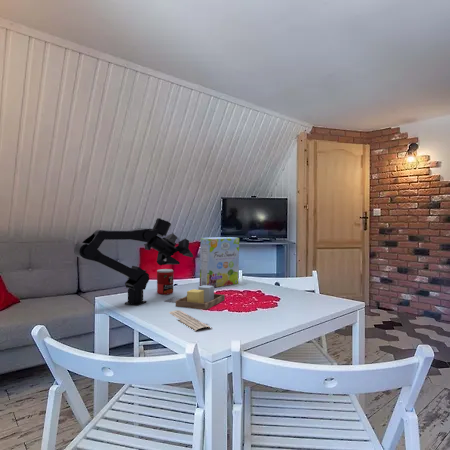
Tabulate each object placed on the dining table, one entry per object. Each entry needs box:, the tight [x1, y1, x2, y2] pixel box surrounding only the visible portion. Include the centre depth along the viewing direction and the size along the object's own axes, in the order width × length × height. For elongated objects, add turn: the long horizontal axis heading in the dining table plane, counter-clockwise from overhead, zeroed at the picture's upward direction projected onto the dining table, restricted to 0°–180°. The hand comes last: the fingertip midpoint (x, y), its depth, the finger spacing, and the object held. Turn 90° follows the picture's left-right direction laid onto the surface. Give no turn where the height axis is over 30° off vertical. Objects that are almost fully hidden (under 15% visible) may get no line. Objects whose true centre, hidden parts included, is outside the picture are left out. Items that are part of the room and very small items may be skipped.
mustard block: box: [186, 288, 204, 303], centre depth 142 cm, size 5×5×6 cm
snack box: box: [199, 236, 240, 288], centre depth 189 cm, size 22×9×26 cm, turn 132°
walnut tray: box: [175, 293, 226, 311], centre depth 147 cm, size 18×14×3 cm
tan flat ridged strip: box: [168, 309, 213, 332], centre depth 123 cm, size 24×7×2 cm, turn 31°
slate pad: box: [163, 296, 182, 304], centre depth 151 cm, size 8×8×1 cm
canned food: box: [156, 268, 174, 295], centre depth 169 cm, size 8×8×11 cm
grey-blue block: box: [197, 285, 215, 302], centre depth 151 cm, size 5×5×6 cm
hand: (186, 259), depth 164 cm, fingers open, 9 cm apart
